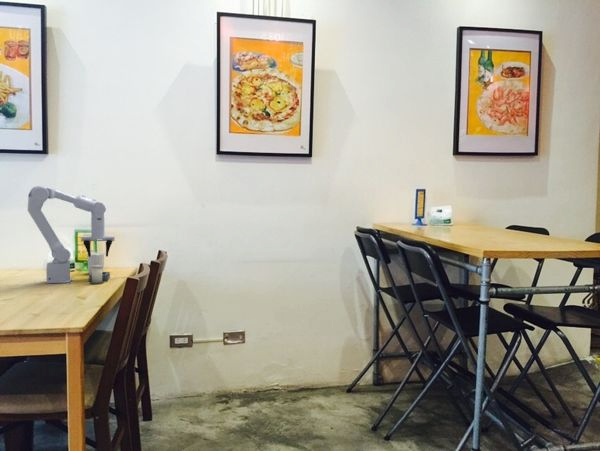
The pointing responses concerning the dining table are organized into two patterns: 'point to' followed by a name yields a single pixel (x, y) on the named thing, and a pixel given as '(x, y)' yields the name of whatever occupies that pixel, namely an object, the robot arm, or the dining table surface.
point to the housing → (104, 276)
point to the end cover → (97, 273)
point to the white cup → (95, 260)
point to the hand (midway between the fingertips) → (98, 256)
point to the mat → (97, 283)
